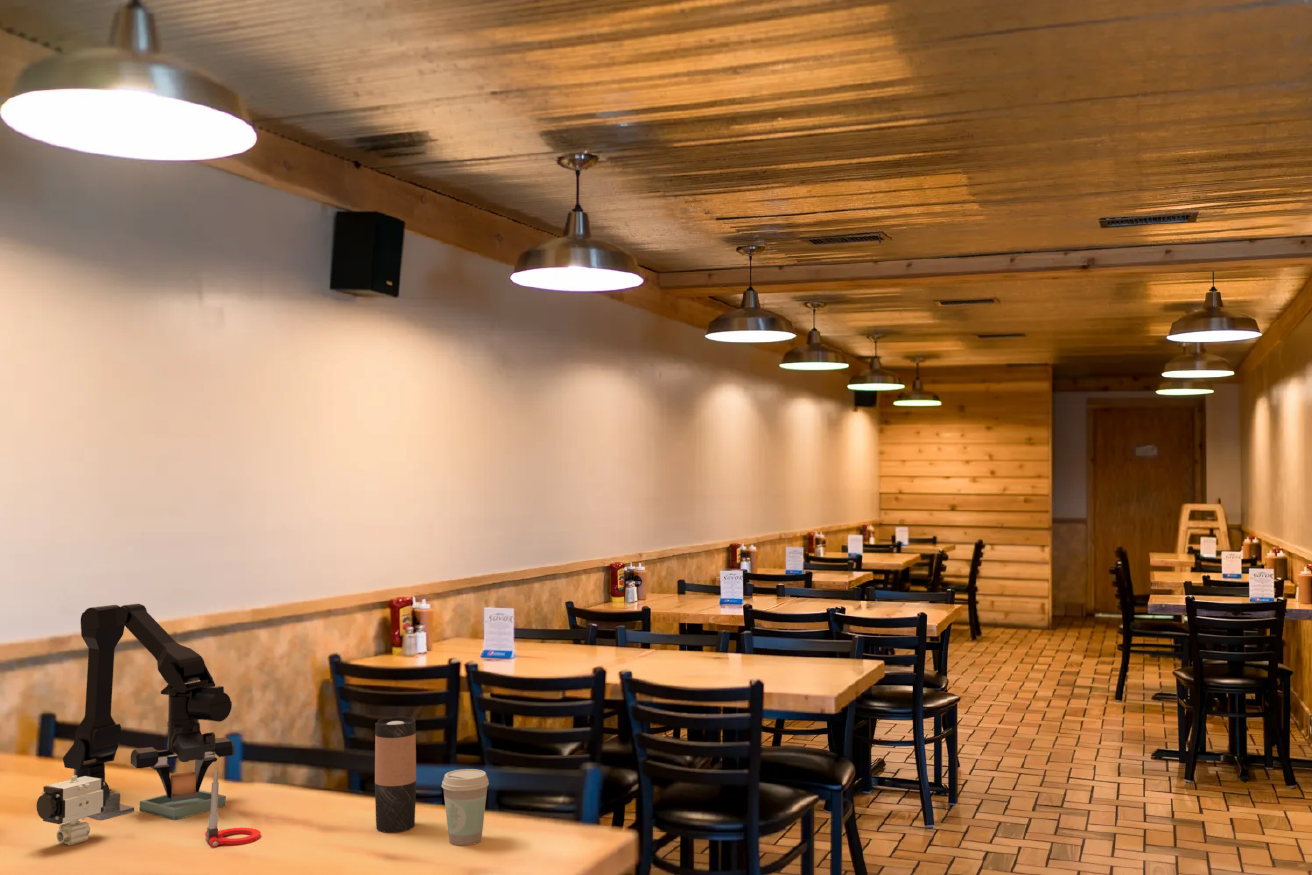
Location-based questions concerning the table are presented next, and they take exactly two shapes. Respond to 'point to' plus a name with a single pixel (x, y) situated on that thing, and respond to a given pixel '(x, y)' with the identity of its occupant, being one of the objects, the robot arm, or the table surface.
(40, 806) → the pneumatic valve
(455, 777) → the coffee cup
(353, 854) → the table surface
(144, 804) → the bin
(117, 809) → the stud fixture
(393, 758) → the travel mug
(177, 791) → the tan cylindrical plug
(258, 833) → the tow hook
